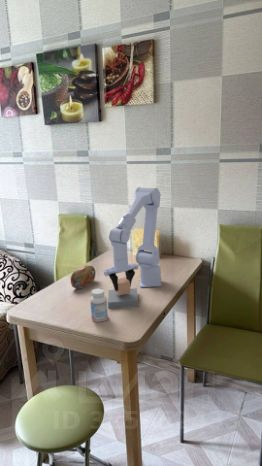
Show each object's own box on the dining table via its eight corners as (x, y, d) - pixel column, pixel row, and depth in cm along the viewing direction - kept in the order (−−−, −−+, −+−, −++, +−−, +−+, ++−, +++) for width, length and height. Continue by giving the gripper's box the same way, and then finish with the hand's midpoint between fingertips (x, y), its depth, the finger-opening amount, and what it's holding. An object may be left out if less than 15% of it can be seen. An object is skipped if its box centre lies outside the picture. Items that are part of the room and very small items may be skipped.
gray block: (136, 294, 153) (136, 288, 153) (138, 307, 142) (138, 300, 141) (109, 296, 153) (108, 289, 152) (108, 309, 142) (107, 302, 141)
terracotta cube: (125, 288, 150) (124, 277, 149) (130, 292, 145) (129, 281, 144) (114, 291, 148) (113, 279, 147) (119, 295, 143) (118, 283, 142)
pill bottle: (92, 315, 136) (89, 288, 133) (107, 314, 137) (105, 287, 134) (91, 323, 131) (89, 295, 128) (108, 321, 131) (106, 293, 128)
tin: (75, 291, 158) (73, 274, 156) (70, 290, 160) (68, 273, 158) (96, 280, 171) (95, 263, 168) (91, 279, 172) (90, 262, 170)
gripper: (132, 251, 149) (134, 281, 152) (100, 257, 143) (102, 288, 147) (140, 256, 143) (141, 287, 146) (106, 262, 137) (108, 295, 140)
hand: (122, 288), depth 146 cm, fingers closed on terracotta cube, 5 cm apart
